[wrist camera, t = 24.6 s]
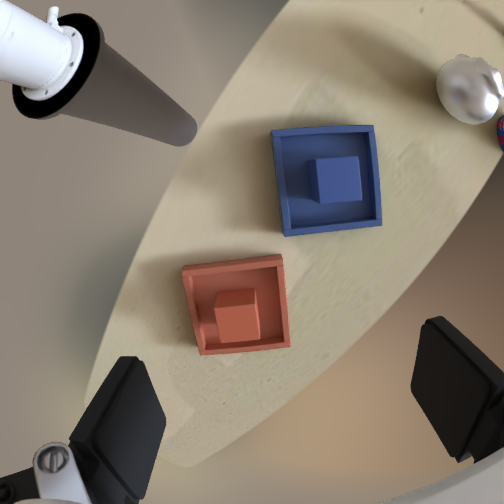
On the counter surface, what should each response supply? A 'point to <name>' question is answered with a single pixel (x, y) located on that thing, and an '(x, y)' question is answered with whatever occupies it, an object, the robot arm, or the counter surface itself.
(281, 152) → the blue tray
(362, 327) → the counter surface
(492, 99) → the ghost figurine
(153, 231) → the counter surface
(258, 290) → the terracotta tray
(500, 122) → the mug
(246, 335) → the terracotta block
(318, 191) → the blue block
